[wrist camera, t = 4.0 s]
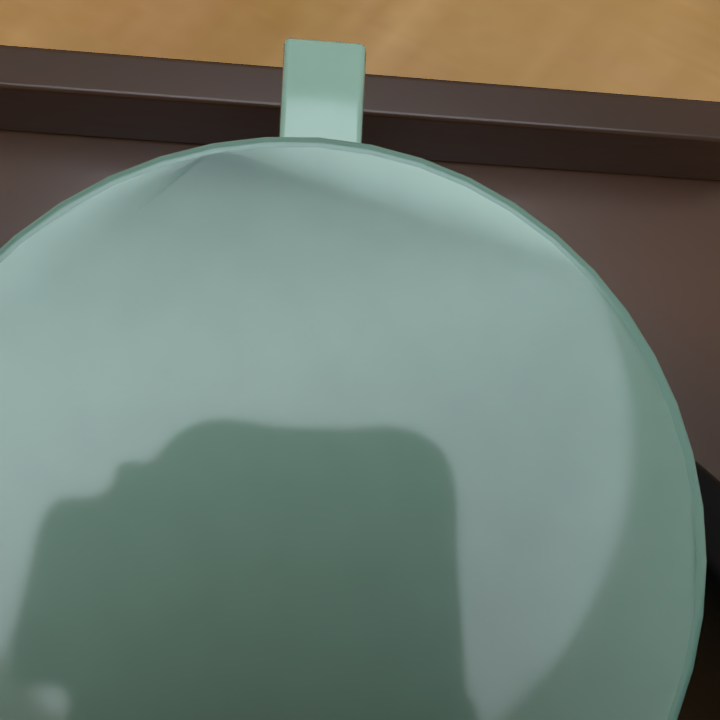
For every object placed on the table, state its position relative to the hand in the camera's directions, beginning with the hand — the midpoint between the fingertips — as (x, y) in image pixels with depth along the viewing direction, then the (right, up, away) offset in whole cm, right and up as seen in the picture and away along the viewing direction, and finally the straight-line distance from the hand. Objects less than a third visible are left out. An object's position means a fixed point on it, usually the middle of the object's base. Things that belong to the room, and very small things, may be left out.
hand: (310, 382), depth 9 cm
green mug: (0, -1, +4) cm, 4 cm away
